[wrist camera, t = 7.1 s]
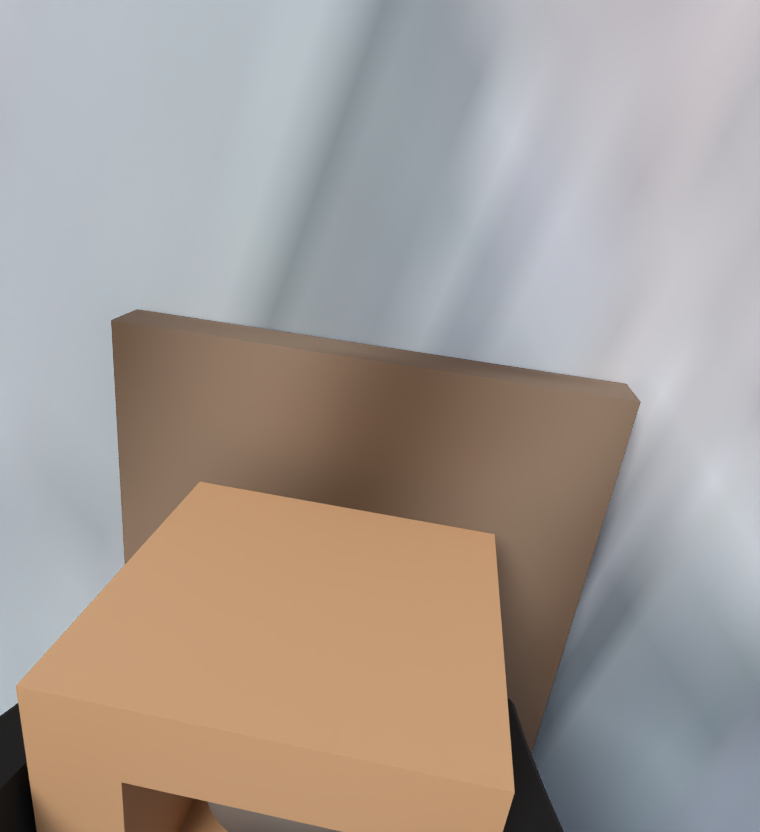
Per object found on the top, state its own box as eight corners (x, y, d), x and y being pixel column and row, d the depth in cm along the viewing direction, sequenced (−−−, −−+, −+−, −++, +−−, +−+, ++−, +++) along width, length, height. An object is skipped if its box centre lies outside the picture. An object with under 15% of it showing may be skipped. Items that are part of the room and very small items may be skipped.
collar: (494, 534, 11) (514, 792, 6) (444, 752, 13) (432, 1066, 8) (199, 481, 11) (15, 686, 7) (198, 700, 13) (56, 971, 9)
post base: (626, 383, 12) (764, 559, 6) (511, 770, 16) (535, 1071, 11) (136, 309, 12) (-110, 410, 7) (152, 698, 17) (5, 945, 11)
